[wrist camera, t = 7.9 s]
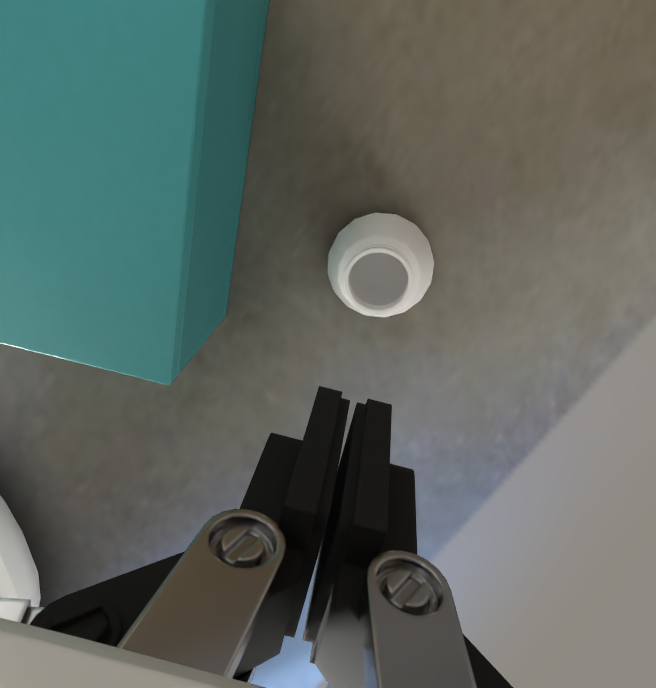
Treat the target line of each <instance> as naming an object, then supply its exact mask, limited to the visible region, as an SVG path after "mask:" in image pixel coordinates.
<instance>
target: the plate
mask: <svg viewBox="0 0 656 688" xmlns="http://www.w3.org/2000/svg"><path fill="white" fill-rule="evenodd" d="M0 598H17V599H31V607H39V603H40V599H41V597H40V587H39V576H38V571H37V568H36V566H35V563H34V561H33V558H32V555H31V553H30V550H29V548H28V545H27V542H26V540H25V537H24V535H23V532H22V530H21V529H20V527H19V525H18V523H17V522H16V520H15V518H14V516H13V515H12V513H11V511H10V509H9V508H8V506H7V504H6V502H5V501H4V499H3V498H2V497H1V496H0Z"/></svg>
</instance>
